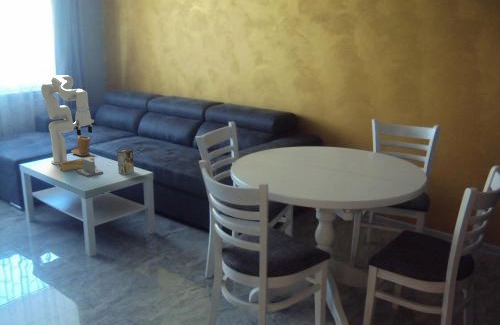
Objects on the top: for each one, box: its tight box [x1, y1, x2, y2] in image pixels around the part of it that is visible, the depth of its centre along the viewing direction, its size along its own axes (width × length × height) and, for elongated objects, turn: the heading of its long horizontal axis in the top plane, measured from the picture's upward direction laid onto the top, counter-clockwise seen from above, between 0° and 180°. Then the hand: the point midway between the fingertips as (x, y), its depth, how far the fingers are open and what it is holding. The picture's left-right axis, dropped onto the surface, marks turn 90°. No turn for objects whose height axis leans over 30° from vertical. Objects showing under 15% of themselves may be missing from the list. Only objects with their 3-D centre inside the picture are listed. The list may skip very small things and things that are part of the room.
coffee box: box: [116, 148, 135, 176], centre depth 336 cm, size 9×6×16 cm
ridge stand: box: [75, 157, 104, 178], centre depth 335 cm, size 16×12×10 cm
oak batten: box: [59, 156, 95, 173], centre depth 347 cm, size 4×24×6 cm, turn 136°
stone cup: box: [70, 135, 91, 157], centre depth 381 cm, size 15×12×15 cm
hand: (84, 133), depth 325 cm, fingers open, 9 cm apart
